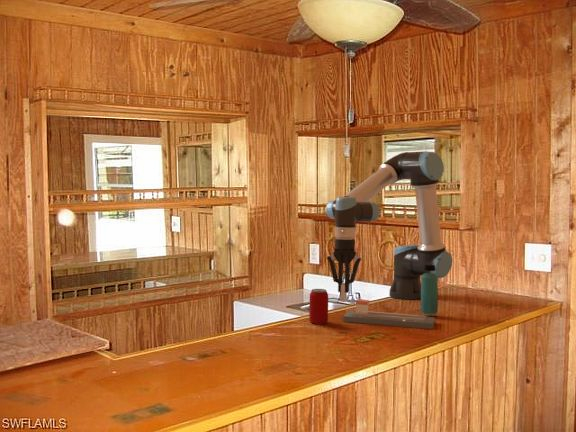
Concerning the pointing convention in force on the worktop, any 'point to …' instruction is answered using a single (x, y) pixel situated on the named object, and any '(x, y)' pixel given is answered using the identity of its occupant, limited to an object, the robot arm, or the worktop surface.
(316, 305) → the beverage can
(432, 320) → the board
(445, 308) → the worktop surface
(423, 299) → the beverage bottle
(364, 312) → the fader tab
